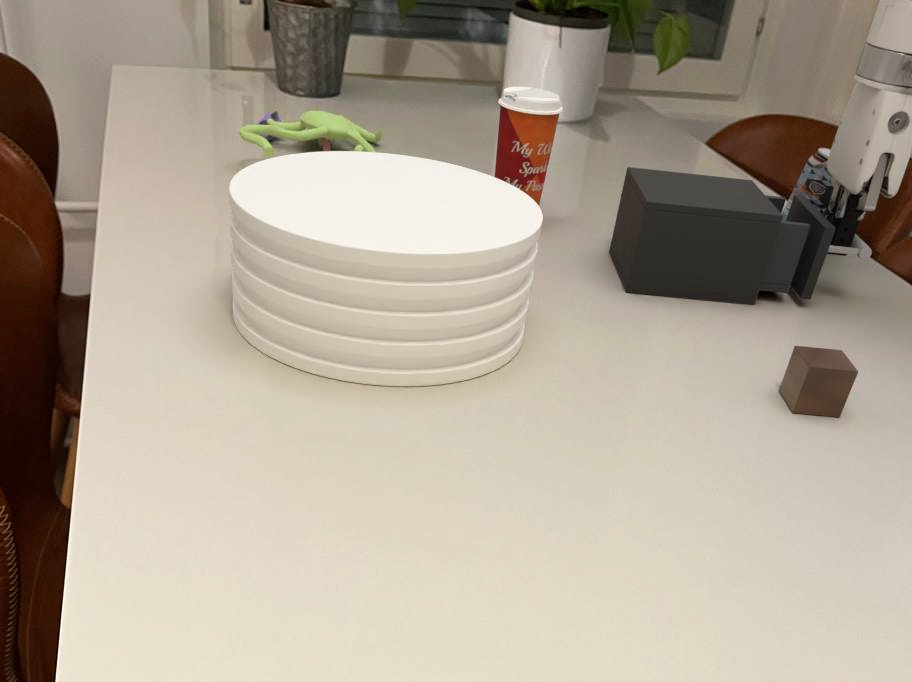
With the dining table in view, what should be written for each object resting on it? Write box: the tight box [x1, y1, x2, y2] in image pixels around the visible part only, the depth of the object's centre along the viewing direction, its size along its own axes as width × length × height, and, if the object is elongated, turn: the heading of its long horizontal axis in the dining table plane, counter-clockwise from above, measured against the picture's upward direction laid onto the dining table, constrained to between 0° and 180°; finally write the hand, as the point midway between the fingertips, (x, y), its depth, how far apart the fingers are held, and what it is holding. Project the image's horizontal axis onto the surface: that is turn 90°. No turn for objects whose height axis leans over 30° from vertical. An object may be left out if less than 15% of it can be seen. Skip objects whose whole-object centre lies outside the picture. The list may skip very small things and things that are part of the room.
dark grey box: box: [608, 166, 783, 306], centre depth 110 cm, size 15×13×10 cm
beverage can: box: [781, 147, 833, 221], centre depth 121 cm, size 6×7×12 cm
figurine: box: [238, 110, 383, 158], centre depth 133 cm, size 18×27×6 cm
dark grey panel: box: [759, 194, 873, 301], centre depth 111 cm, size 19×11×8 cm, turn 91°
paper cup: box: [494, 86, 564, 207], centre depth 120 cm, size 8×8×14 cm
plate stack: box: [228, 150, 544, 387], centre depth 92 cm, size 28×28×12 cm
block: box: [778, 345, 859, 418], centre depth 89 cm, size 4×4×4 cm
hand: (831, 251), depth 112 cm, fingers closed
